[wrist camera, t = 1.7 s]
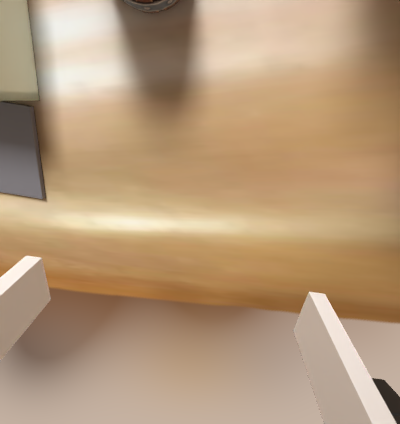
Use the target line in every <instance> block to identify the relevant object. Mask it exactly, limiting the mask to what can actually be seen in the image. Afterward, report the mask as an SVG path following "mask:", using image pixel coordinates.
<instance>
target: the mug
mask: <svg viewBox="0 0 400 424" xmlns="http://www.w3.org/2000/svg"><path fill="white" fill-rule="evenodd" d="M123 1H124V2H125V3H127V4H128V5H130V6H132V7H134V8H135V9H138V10H142V11H143V12H149V13H156V12H159V11H160V10H163V9H164V10H167V9H169V8H170V7H172V6H174V5H175V4H176V3H177V2H178V1H179V0H123Z"/></svg>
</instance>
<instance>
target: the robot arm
mask: <svg viewBox="0 0 400 424" xmlns="http://www.w3.org/2000/svg"><path fill="white" fill-rule="evenodd" d="M50 300H51V297H50V293H49V288H48V284H47V279H46V275H45V270H44V266H43V261H42V258H39V257H31V256H26V257H24V258H23V259H22V260H21V261H20V262H18V263H17V264H16V265H15V266H14V267H12V268H11V269H10V270H9V271H8V272H6V273H5V274H4V275H3V276H2V277H0V361H1V360H2V358H3V357H4V356H5V355H6V353H7V352H8V351H9V350H10V349H11V347H12V346H13V345H14V343H15V342H16V341H17V340H18V339H19V337H20V336H21V335H22V334H23V333H24V332H25V330H26V329H27V328H28V326H29V325H30V324H31V323H32V322H33V321H34V319H35V318H36V317H37V316H38V314H39V313H40V312H41V311H42V309H43V308H44V307H45V306H46V304H47V303H48V302H49V301H50ZM293 331H294V334H295V337H296V340H297V344H298V346H299V350H300V353H301V356H302V359H303V362H304V364H305V367H306V370H307V373H308V377H309V380H310V383H311V386H312V389H313V392H314V395H315V398H316V401H317V404H318V407H319V410H320V413H321V415H322V419H323V422H324V424H400V397H399V396H398V394H397V393H396V392H395V391H394V390H393V389H392V388H391V387H390V386H389V385H388V384H387V383H386V382H385V380H382V379H374V378H371V376H370V375H369V373H368V371H367V369H366V367H365V366H364V364H363V362H362V360H361V358H360V357H359V355H358V353H357V351H356V349H355V348H354V346H353V344H352V342H351V340H350V339H349V337H348V335H347V333H346V331H345V330H344V328H343V326H342V324H341V322H340V321H339V319H338V317H337V315H336V313H335V312H334V310H333V308H332V306H331V304H330V303H329V301H328V299H327V297H326V295H325V294H323V293H315V292H309V293H308V295H307V298H306V300H305V303H304V305H303V307H302V310H301V312H300V315H299V318H298V320H297V322H296V325H295V327H294V330H293Z"/></svg>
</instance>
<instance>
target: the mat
mask: <svg viewBox="0 0 400 424" xmlns="http://www.w3.org/2000/svg"><path fill="white" fill-rule="evenodd" d="M0 192H3V193H9V194H15V195H21V196H27V197H33V198H39V199H44V198H45V189H44V182H43V174H42V167H41V159H40V152H39V145H38V137H37V130H36V122H35V115H34V108H33V107H31V106H25V105H20V104H14V103H8V102H3V101H0Z"/></svg>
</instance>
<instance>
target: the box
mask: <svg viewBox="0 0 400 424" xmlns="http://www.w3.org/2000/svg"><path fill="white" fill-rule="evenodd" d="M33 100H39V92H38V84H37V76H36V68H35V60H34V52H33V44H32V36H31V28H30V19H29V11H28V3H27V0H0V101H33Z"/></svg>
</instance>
